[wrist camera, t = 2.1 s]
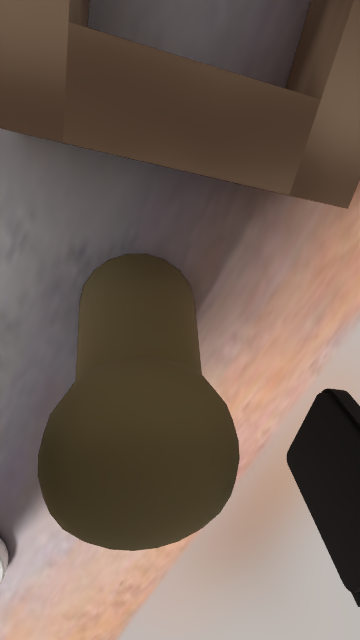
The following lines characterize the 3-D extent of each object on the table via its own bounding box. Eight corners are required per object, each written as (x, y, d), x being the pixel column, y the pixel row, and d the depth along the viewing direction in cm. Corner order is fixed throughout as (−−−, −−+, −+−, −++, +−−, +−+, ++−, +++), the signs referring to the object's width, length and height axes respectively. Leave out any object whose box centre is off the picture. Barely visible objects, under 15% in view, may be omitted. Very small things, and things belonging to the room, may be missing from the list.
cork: (188, 244, 16) (278, 383, 6) (199, 347, 18) (272, 558, 9) (65, 263, 15) (-59, 445, 5) (95, 365, 18) (49, 606, 8)
